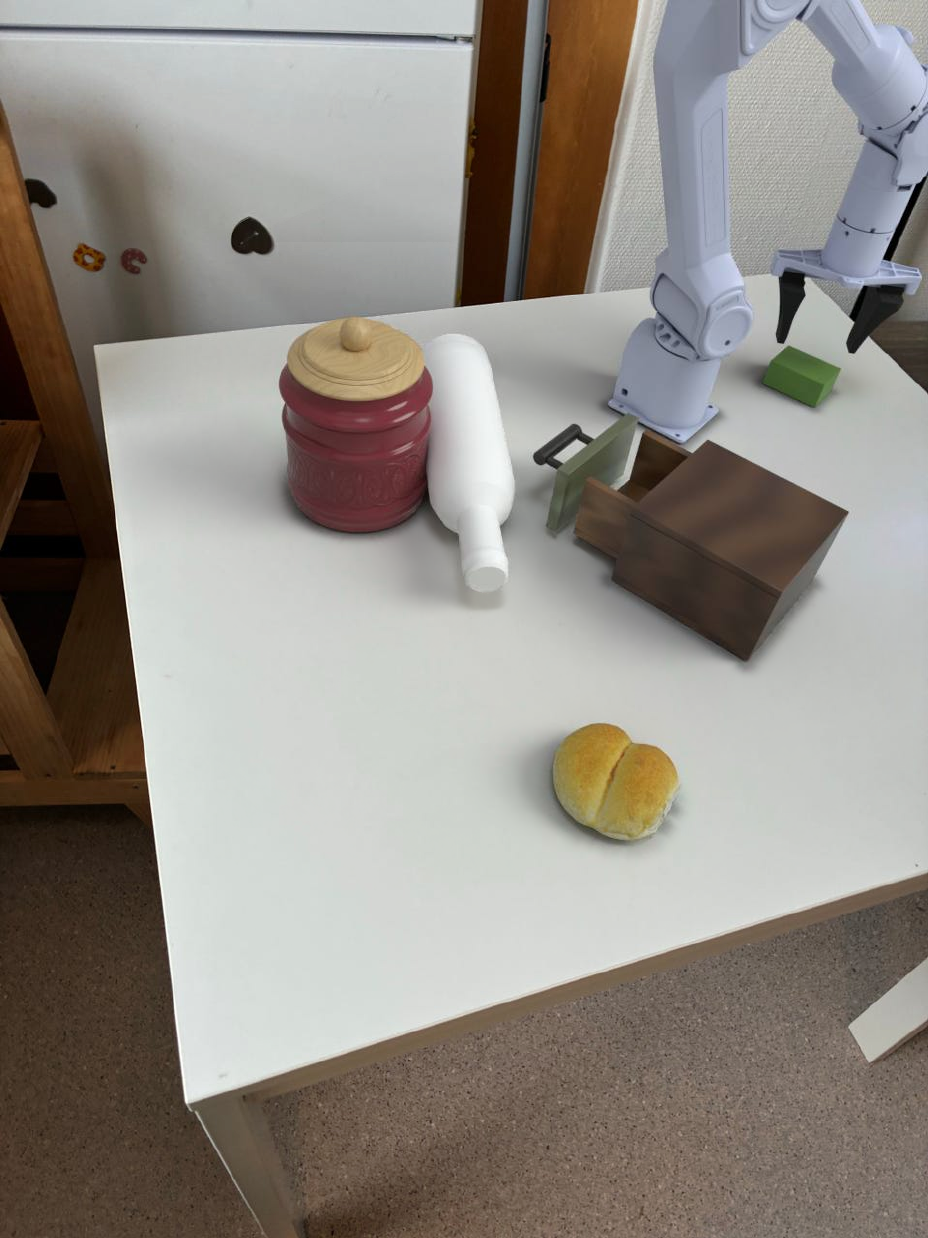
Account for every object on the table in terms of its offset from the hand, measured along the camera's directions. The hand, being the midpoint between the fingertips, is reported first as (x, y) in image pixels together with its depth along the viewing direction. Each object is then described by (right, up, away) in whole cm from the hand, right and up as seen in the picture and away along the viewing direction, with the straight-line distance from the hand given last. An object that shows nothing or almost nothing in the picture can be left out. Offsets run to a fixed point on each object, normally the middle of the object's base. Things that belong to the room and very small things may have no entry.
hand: (814, 343), depth 98 cm
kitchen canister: (-48, -18, -13) cm, 53 cm away
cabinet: (-16, -26, -17) cm, 35 cm away
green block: (0, -4, +4) cm, 6 cm away
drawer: (-24, -20, -14) cm, 34 cm away
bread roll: (-27, -42, -32) cm, 60 cm away
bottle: (-39, -4, -5) cm, 40 cm away
